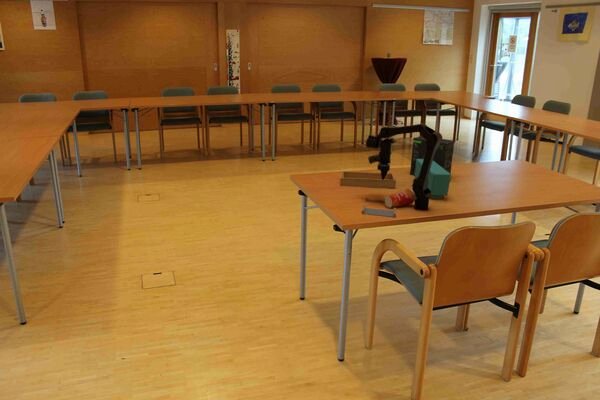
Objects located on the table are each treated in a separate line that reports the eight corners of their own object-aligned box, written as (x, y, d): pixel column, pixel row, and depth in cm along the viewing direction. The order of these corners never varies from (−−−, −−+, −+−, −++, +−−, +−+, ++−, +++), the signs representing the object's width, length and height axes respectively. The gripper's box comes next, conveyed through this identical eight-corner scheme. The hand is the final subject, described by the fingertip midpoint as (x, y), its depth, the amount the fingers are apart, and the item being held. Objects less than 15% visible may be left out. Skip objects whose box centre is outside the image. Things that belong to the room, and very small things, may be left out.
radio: (449, 200, 279) (453, 174, 274) (430, 200, 278) (433, 173, 274) (430, 183, 311) (433, 158, 307) (413, 182, 310) (415, 158, 306)
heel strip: (395, 203, 271) (396, 200, 270) (395, 204, 269) (396, 201, 269) (365, 200, 273) (365, 197, 273) (365, 201, 272) (365, 198, 272)
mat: (395, 211, 259) (396, 208, 258) (395, 217, 250) (396, 213, 250) (363, 208, 261) (363, 204, 261) (361, 214, 253) (361, 210, 252)
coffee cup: (383, 191, 264) (406, 185, 271) (383, 206, 268) (405, 200, 275) (394, 197, 258) (417, 191, 265) (393, 212, 261) (416, 205, 268)
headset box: (408, 174, 328) (413, 134, 320) (418, 171, 337) (422, 132, 329) (441, 182, 314) (447, 140, 306) (450, 178, 323) (455, 137, 315)
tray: (341, 186, 298) (342, 177, 297) (341, 179, 313) (341, 170, 311) (395, 189, 297) (395, 180, 295) (392, 182, 311) (393, 173, 309)
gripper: (370, 145, 279) (368, 173, 283) (368, 153, 261) (366, 182, 266) (391, 147, 277) (389, 175, 282) (391, 154, 259) (388, 184, 264)
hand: (382, 179), depth 273 cm, fingers closed
